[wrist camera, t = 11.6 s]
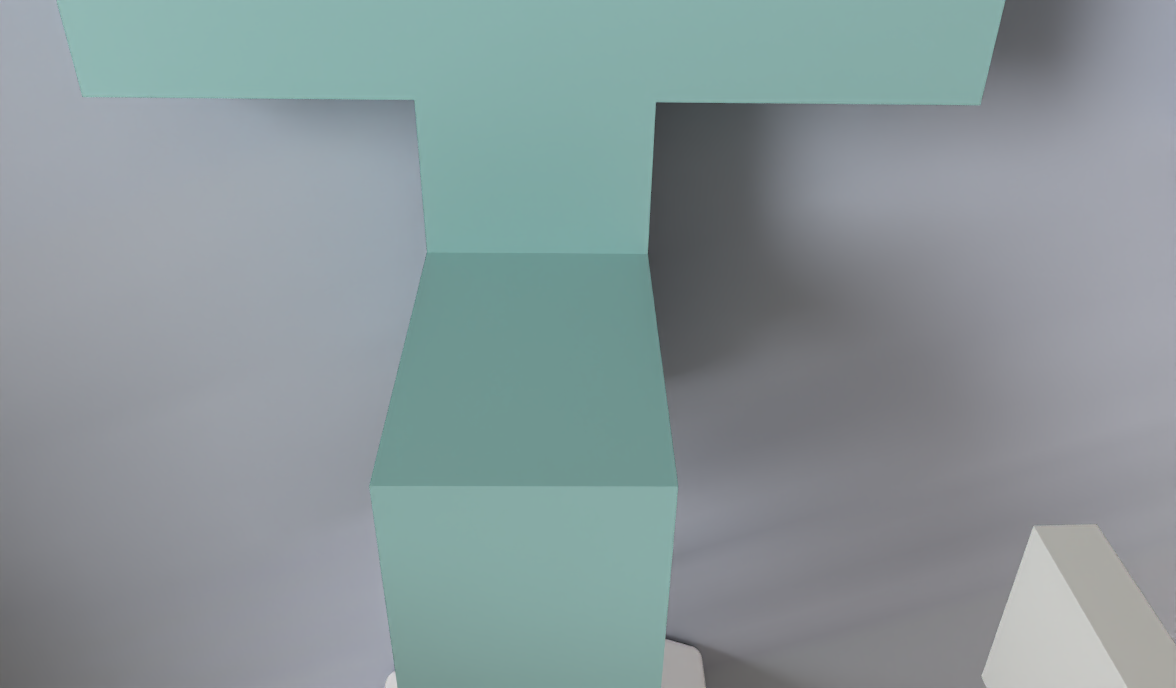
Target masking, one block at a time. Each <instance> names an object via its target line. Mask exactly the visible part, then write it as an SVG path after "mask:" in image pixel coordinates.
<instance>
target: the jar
mask: <svg viewBox="0 0 1176 688" xmlns="http://www.w3.org/2000/svg"><path fill="white" fill-rule="evenodd" d="M385 688H397V681H396V674H395V671H394V672H392V673H391V674H390V675H389V676H388V677H387V679H386V683H385ZM661 688H706V684H705V676H704V669H703V661H702V656H701V653H700V652H699V651H698V650H697V649H696V648H695V647H692V646H689V645H686V644H682V643H679V642H675V641H672V640H668V639H665V648H664V659H663V671H662V683H661Z"/></svg>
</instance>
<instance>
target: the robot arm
mask: <svg viewBox="0 0 1176 688" xmlns="http://www.w3.org/2000/svg"><path fill="white" fill-rule="evenodd" d="M981 677H982V679H983V681H984V684H985V686H986V688H1176V645H1175V643H1174V641H1173V640H1172V638H1171V637H1170V635H1169V634H1168V632H1167V631H1166V629H1165V628H1164V626H1163V625H1162V623H1161V622H1160V620H1159V619H1158V617H1157V616H1156V614H1155V612H1154V611H1153V609H1152V608H1151V606H1150V605H1149V603H1148V602H1147V600H1146V599H1145V597H1144V596H1143V594H1142V593H1141V591H1140V590H1139V588H1138V587H1137V585H1136V583H1135V582H1134V580H1133V579H1132V577H1131V576H1130V574H1129V573H1128V571H1127V570H1126V568H1125V567H1124V565H1123V564H1122V562H1121V561H1120V559H1119V558H1118V556H1117V554H1116V553H1115V551H1114V550H1113V548H1112V547H1111V545H1110V544H1109V542H1108V541H1107V539H1106V538H1105V536H1104V535H1103V533H1102V532H1101V530H1100V529H1099V527H1098V525H1097V524H1083V525H1038V526H1033V529H1032V532H1031V535H1030V537H1029V540H1028V543H1027V546H1026V549H1025V552H1024V555H1023V558H1022V561H1021V563H1020V566H1019V569H1018V572H1017V575H1016V578H1015V581H1014V584H1013V587H1012V589H1011V592H1010V595H1009V598H1008V601H1007V604H1006V607H1005V610H1004V613H1003V615H1002V618H1001V621H1000V624H999V627H998V630H997V633H996V636H995V639H994V641H993V644H992V647H991V650H990V653H989V656H988V659H987V662H986V665H985V667H984V670H983V673H982V676H981Z"/></svg>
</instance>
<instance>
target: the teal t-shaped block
mask: <svg viewBox="0 0 1176 688" xmlns="http://www.w3.org/2000/svg"><path fill="white" fill-rule="evenodd" d="M56 1H57V5H58V8H59V12H60V16H61V19H62V23H63V27H64V30H65V34H66V38H67V41H68V45H69V49H70V53H71V56H72V60H73V64H74V67H75V71H76V75H77V78H78V82H79V86H80V89H81V93H82V97H137V98H245V99H354V100H414V103H415V115H416V127H417V139H418V151H419V163H420V175H421V187H422V199H423V211H424V223H425V235H426V246H427V255H426V259H425V263H424V267H423V271H422V275H421V279H420V283H419V287H418V291H417V295H416V299H415V303H414V307H413V311H412V315H411V319H410V323H409V327H408V331H407V335H406V339H405V343H404V348H403V352H402V356H401V360H400V364H399V368H398V372H397V376H396V380H395V384H394V388H393V392H392V396H391V400H390V404H389V408H388V412H387V416H386V420H385V424H384V428H383V432H382V436H381V440H380V444H379V449H378V453H377V457H376V461H375V465H374V469H373V473H372V477H371V481H370V485H369V488H370V495H371V502H372V509H373V517H374V524H375V531H376V538H377V545H378V552H379V559H380V566H381V574H382V581H383V588H384V595H385V602H386V609H387V616H388V624H389V631H390V638H391V645H392V652H393V659H394V666H395V674H396V681H397V688H661V683H662V671H663V659H664V648H665V636H666V624H667V612H668V601H669V589H670V577H671V565H672V554H673V542H674V530H675V518H676V507H677V495H678V481H677V473H676V466H675V458H674V451H673V443H672V435H671V428H670V420H669V412H668V405H667V397H666V389H665V382H664V374H663V366H662V359H661V351H660V344H659V336H658V328H657V321H656V313H655V305H654V298H653V290H652V282H651V275H650V267H649V260H648V240H649V222H650V203H651V185H652V166H653V147H654V129H655V110H656V102H679V103H788V104H896V105H981V100H982V96H983V92H984V88H985V84H986V80H987V75H988V71H989V67H990V63H991V59H992V54H993V50H994V46H995V42H996V38H997V34H998V29H999V25H1000V21H1001V17H1002V13H1003V8H1004V4H1005V0H56Z"/></svg>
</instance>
